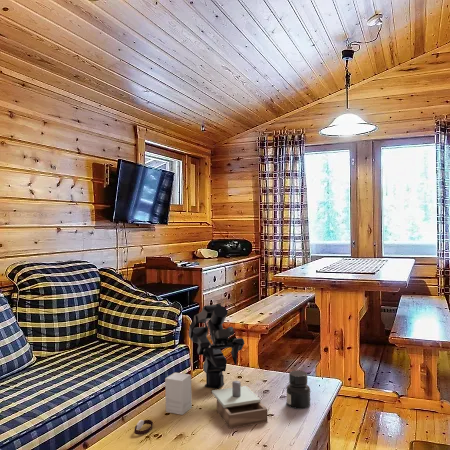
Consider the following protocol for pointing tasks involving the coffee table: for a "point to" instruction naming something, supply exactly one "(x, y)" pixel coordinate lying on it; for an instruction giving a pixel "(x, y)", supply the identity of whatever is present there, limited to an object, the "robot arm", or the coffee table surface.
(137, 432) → the watch
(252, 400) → the box lid
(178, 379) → the supplement box
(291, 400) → the ink bottle
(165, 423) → the coffee table surface
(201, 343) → the robot arm
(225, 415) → the walnut box
